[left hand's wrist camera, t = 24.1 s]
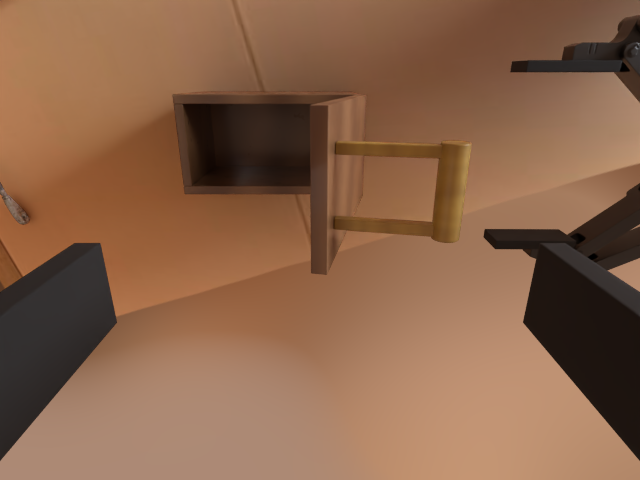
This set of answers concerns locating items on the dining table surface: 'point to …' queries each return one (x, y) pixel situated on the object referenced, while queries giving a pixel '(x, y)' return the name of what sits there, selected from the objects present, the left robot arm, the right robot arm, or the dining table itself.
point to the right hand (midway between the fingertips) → (502, 159)
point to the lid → (347, 180)
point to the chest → (246, 141)
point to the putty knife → (14, 208)
